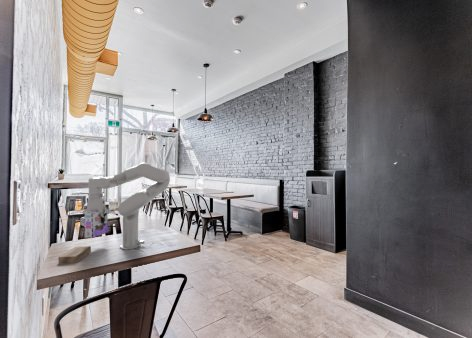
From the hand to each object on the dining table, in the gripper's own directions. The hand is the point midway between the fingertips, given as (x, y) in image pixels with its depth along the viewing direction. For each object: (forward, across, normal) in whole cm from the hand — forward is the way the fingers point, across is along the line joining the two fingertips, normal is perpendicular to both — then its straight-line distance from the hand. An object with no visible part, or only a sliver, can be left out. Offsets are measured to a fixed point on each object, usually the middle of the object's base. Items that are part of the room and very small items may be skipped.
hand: (96, 223), depth 156 cm
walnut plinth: (+16, +5, +16) cm, 24 cm away
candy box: (+8, 0, 0) cm, 8 cm away
